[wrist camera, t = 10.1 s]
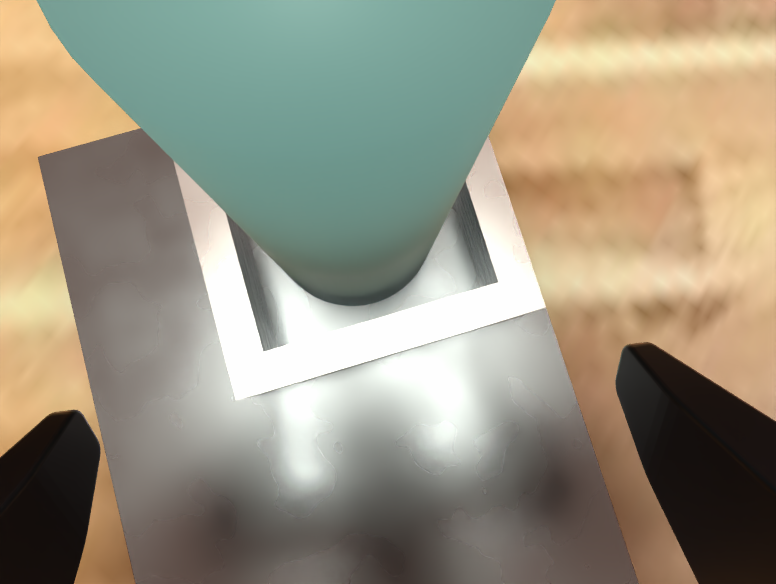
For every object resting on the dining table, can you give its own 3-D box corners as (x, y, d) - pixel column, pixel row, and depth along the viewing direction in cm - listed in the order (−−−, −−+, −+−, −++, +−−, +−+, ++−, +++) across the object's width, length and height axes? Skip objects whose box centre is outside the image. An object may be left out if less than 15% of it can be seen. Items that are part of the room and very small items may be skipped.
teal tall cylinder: (464, 237, 18) (689, -72, 5) (341, 339, 18) (254, 279, 5) (363, 119, 18) (338, -440, 6) (240, 216, 18) (-98, -150, 5)
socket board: (621, 577, 18) (687, 635, 14) (191, 716, 18) (135, 818, 14) (451, 64, 20) (467, -9, 16) (63, 172, 20) (-17, 123, 16)
